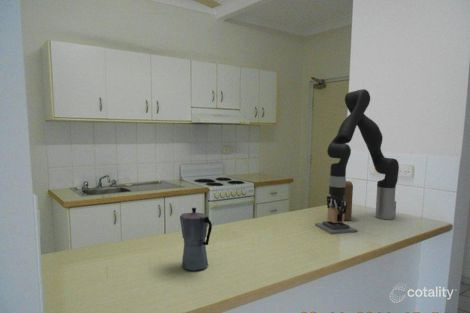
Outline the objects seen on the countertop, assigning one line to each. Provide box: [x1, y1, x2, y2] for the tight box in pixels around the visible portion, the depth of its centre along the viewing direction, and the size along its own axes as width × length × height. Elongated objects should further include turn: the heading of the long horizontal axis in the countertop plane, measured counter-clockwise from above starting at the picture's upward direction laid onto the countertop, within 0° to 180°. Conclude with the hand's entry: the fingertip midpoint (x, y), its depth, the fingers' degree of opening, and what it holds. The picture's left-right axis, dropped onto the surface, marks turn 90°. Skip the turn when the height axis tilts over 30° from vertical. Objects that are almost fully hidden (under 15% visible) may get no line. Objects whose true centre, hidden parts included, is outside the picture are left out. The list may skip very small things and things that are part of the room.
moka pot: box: [179, 207, 213, 271], centre depth 106 cm, size 10×15×20 cm, turn 51°
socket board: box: [314, 220, 358, 235], centre depth 152 cm, size 14×14×2 cm
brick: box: [327, 207, 345, 223], centre depth 151 cm, size 6×6×6 cm
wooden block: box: [340, 180, 354, 222], centre depth 170 cm, size 10×10×20 cm
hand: (335, 219), depth 151 cm, fingers closed on brick, 5 cm apart
